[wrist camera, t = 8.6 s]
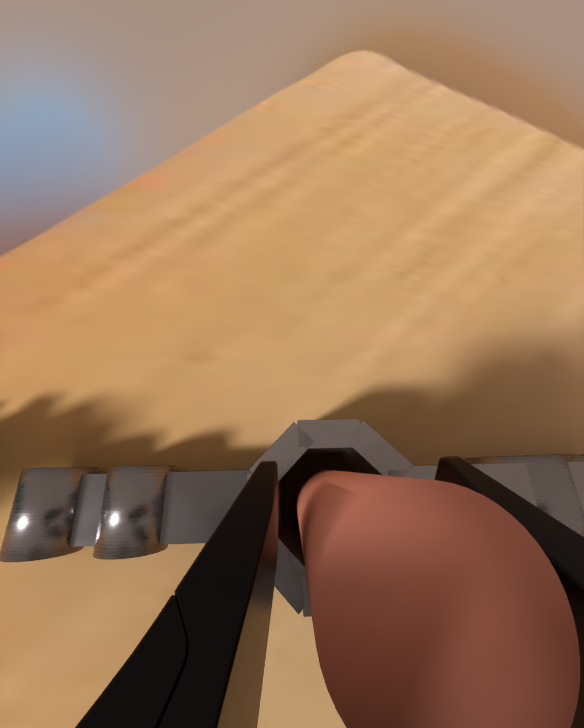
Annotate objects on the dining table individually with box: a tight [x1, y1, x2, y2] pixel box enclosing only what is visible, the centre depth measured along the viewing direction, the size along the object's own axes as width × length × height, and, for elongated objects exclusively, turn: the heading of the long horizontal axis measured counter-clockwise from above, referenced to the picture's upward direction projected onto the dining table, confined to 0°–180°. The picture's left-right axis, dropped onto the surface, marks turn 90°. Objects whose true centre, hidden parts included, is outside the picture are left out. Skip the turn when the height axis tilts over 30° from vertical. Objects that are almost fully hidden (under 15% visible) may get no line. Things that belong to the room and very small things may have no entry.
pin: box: [296, 470, 580, 728], centre depth 10 cm, size 3×3×13 cm
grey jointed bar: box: [0, 419, 584, 617], centre depth 14 cm, size 7×30×4 cm, turn 92°
